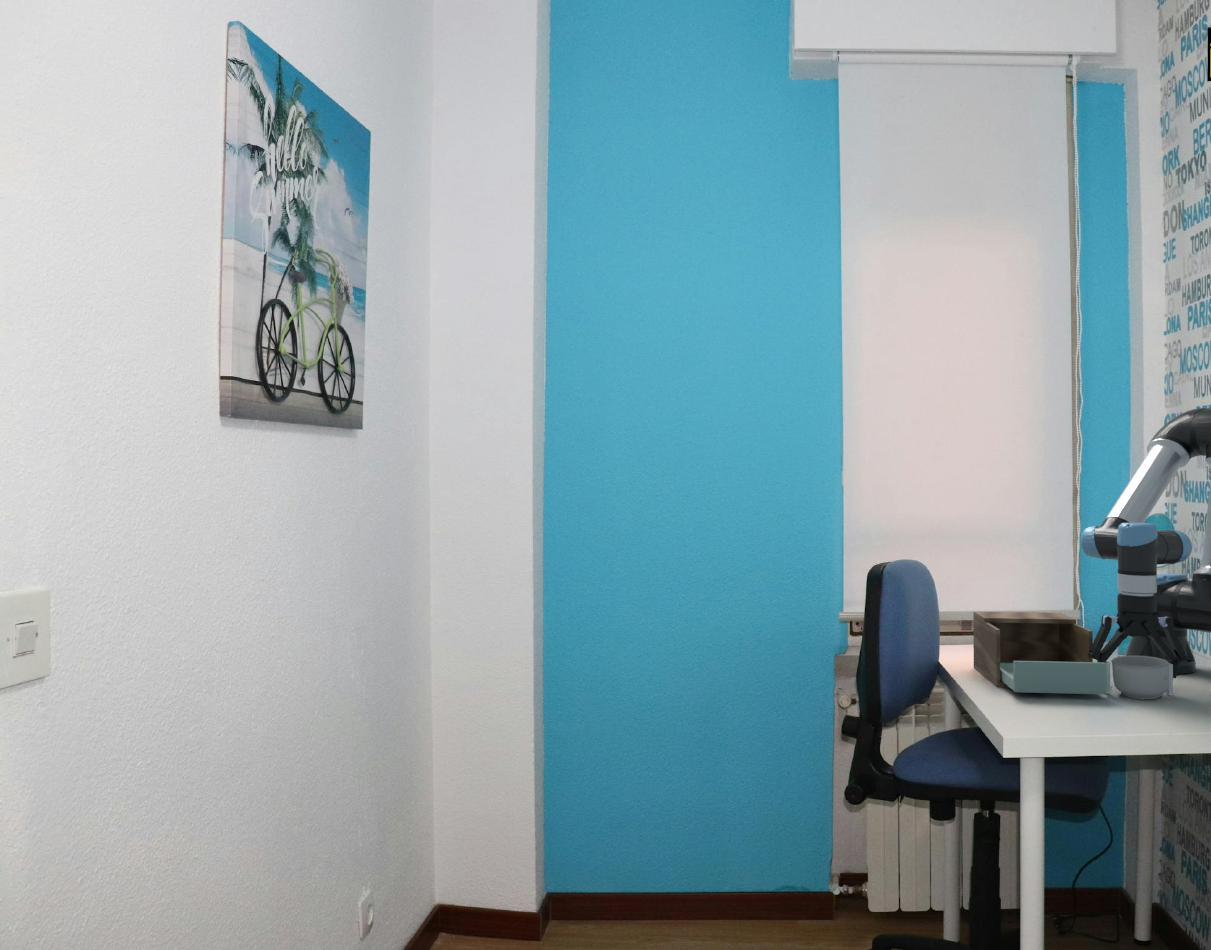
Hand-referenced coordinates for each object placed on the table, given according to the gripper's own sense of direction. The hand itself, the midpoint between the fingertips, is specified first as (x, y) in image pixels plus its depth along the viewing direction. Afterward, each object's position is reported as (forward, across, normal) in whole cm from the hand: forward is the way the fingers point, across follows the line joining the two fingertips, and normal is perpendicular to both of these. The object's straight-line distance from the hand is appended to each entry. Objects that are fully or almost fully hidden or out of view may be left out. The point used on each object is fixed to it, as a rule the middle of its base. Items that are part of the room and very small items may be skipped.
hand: (1136, 692), depth 203 cm
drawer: (-1, +18, -4) cm, 18 cm away
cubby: (0, +18, -14) cm, 23 cm away
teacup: (+1, 0, 0) cm, 1 cm away
